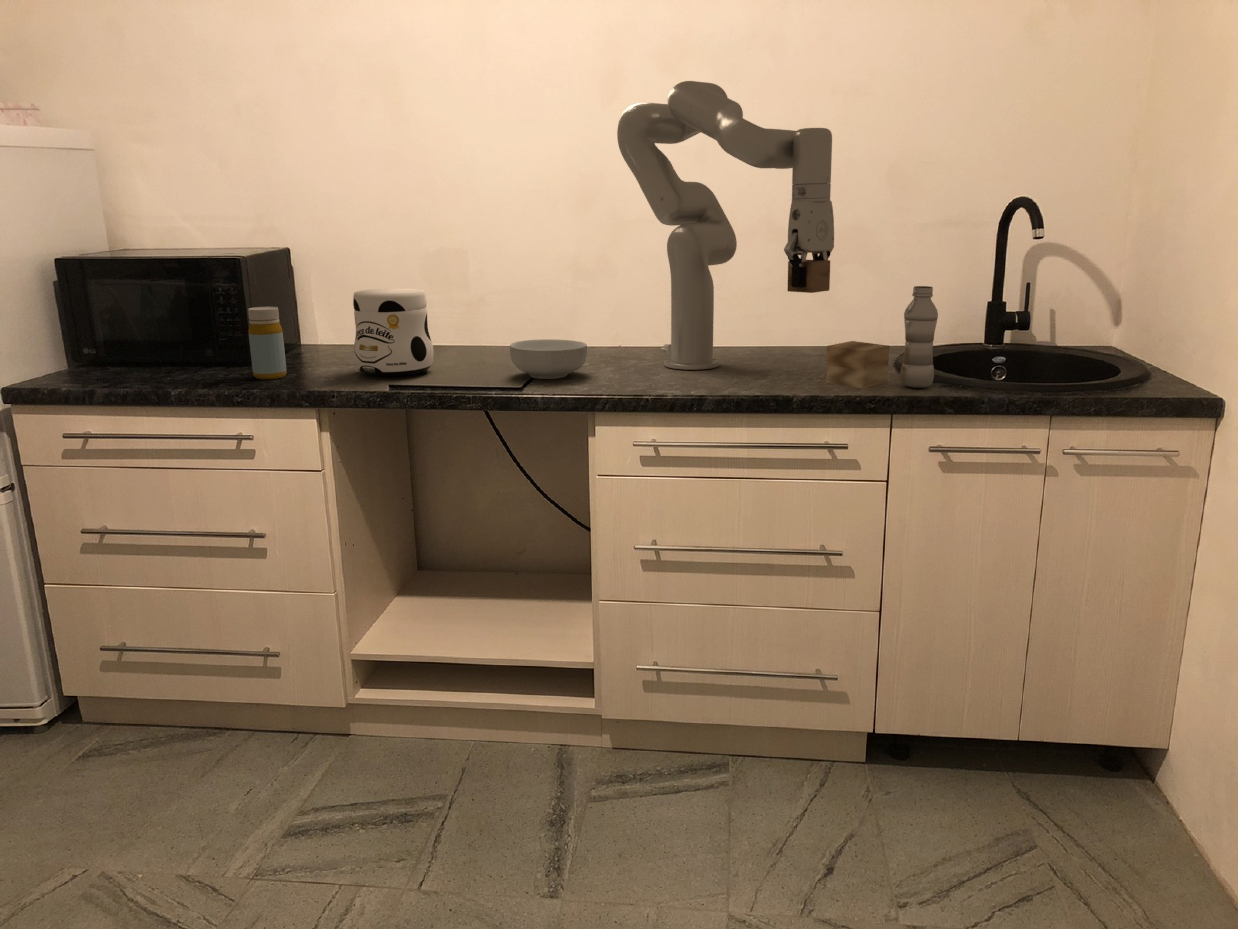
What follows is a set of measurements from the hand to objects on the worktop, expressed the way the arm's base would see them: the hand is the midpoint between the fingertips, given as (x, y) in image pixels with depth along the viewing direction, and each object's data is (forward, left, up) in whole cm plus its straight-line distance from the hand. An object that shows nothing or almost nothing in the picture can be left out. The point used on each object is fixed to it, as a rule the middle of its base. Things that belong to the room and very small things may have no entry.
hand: (808, 284), depth 200 cm
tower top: (+8, +7, -16) cm, 19 cm away
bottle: (-90, -73, -20) cm, 118 cm away
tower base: (+8, +7, -20) cm, 23 cm away
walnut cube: (0, 0, -1) cm, 1 cm away
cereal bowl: (-45, -31, -20) cm, 58 cm away
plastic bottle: (+20, +10, -20) cm, 30 cm away
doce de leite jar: (-73, -52, -20) cm, 92 cm away
